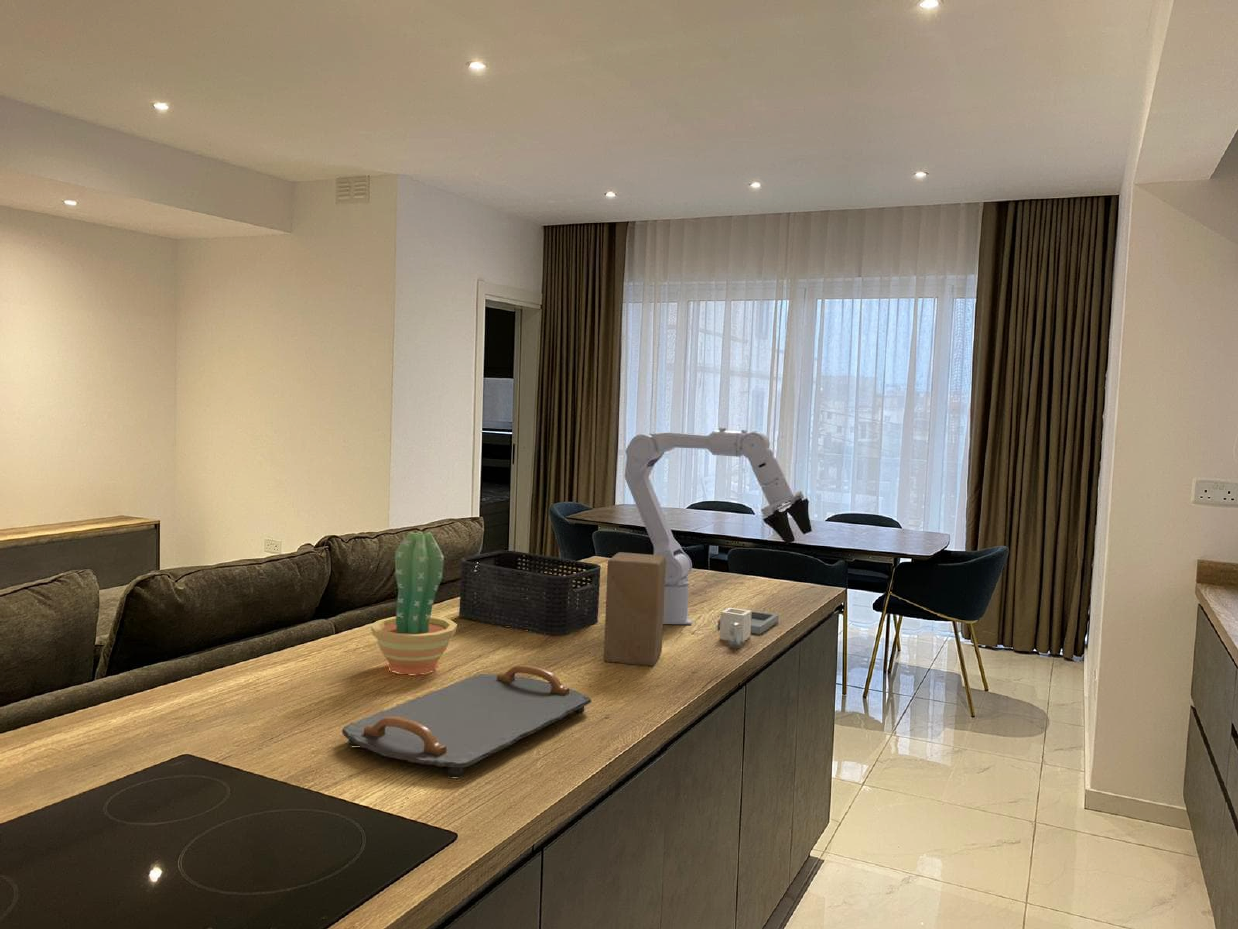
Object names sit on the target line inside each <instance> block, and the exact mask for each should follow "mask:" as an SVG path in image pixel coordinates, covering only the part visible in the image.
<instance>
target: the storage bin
mask: <svg viewBox="0 0 1238 929" xmlns="http://www.w3.org/2000/svg"><path fill="white" fill-rule="evenodd" d="M491 560H493V562H492V565H490V564H484V563H481V562H487V561H491ZM601 569H602V566H601V565H599V564H597V563H591V562H585V561H578V560H573V559H566V558H561V557H555V556H548V555H541V554H535V553H529V552H523V551H518V550H498V551H497V550H496V551H493V552H488V553H482V554H477V555H473V556H466V557H463V558H461V569H460V585H459V586H460V591H459V597H460V598H459V609H458V610H459V612H458V615H459V616H461V617H462V618H466V619H468V620H472V619H475V620H474V621H477V620H479V621H478V622H482V621H483V622H482V623H486V622H487V624H491V623H494V624H493V625H496V624H497V625H496V626H502V627H505V626H509V627H508V628H510V627H513V628H512V629H515V628H517V629H516V630H519V629H521V630H520V631H524V630H528V631H527V632H529V631H531V632H530V633H534V632H535V633H534V634H539V633H542V634H541V635H548V636H563V635H567V634H570V633H572V632H575V631H578V630H581V629H584V628H585V627H588V626H591V625H594V624H596V623H598V622H599V604H600V600H599V599H600V585H601V583H600V581H601V579H600V578H601Z"/></svg>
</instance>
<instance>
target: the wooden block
mask: <svg viewBox="0 0 1238 929" xmlns="http://www.w3.org/2000/svg"><path fill="white" fill-rule="evenodd" d="M665 572H666V557H665V556H662V555H654V554H647V553H636V552H635V553H633V552H622V551H621V552H620V551H619V552H617V553H616V554H614V555H613V556H611V558H609V559H608V560H607V572H606V573H607V574H606V594H605V616H604V638H603V639H604V640H603V642H604V643H603V662H607V663H617V664H625V665H626V664H627V665H635V664H637V666H645V665H646V667H654V665H655V664H656V663H657V660H658V659H659V657H660V656H661V653H662V651H663V635H664V633H663V632H664V631H663V630H664V627H663V626H664V624H663V614H664V593H665Z"/></svg>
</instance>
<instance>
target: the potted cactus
mask: <svg viewBox="0 0 1238 929" xmlns="http://www.w3.org/2000/svg"><path fill="white" fill-rule="evenodd" d="M444 560H445V556H444V553H442V550H441V547H440V546H439V545H438V542H437V541H436V539H435V537H434V536H433V534H432V533H431V532H430V531H428V532H425V533H423V531H419V530H418V531H417V532H413V531H409V532H408V534H406V536H405V537H404V538H403V539H402V541H401V543H400V544H399V545H398V546H397V549H396V551H395V553H394V562H395V564H394V567H395V568H394V570H395V579H396V585H397V589H398V591H397V592H398V593H397V602H396V613H395V616H391V617H387V618H383V619H379V620H376V621H375V622H373V623H372V625H370V628H371V634H372V636H374V637H375V638H376V640H377V643H378V646H379V650H380V651H381V653H382V654H383V656H384V657H385V659H386V660H387V662H388V667H389V668H390V670H391V671H396V672H399V673H401V674H421V673H427V672H430V671H434V670H436V668H437V667H438V668H439V664H438V661H439V660H440V659H441V657H442V656H443V655H444V653H445V652H446V651H447V648H448V646H449V644H450V640H451V639H452V637H453V636H454V635H455V634H456V632H457V626H458V624H457V623H456V622H454V621H453V620H452V619H448V618H444V617H439V616H434V615H433V616H432V615H431V614H432V610H433V607H434V606H433V605H434V602H435V596H436V593H437V591H438V589H439V586H440V584H441V582H442V580H443V572H444V571H443V570H444V563H445V561H444ZM388 667H387V668H388ZM436 671H437V670H436ZM434 672H435V671H434Z"/></svg>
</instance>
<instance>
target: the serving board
mask: <svg viewBox="0 0 1238 929" xmlns="http://www.w3.org/2000/svg"><path fill="white" fill-rule="evenodd" d="M516 674H528V675H533V676H536V677H539V678H542V679H544V680H541V679H536V678H529V677H523V676H518V675H517V676H516ZM545 680H546V681H545ZM591 703H592V699H590V697H589V696H587V695H586V694H583V693H580V692H579V691H576V690H574V689H572V688H569V687H567V686H564V685H563V684H562V683H561V681H560V680H559V678H558V677H557V675H555V674H554V673H553V672H551V671H549V670H548V669H544V668H542V667H538V666H534V665H528V664H521V665H520V664H519V665H515V666H512V667H511V668H509V669H508V670H507V671H506V672H505V673H504V672H500V673H497V674H495V673H483V674H482V673H480V674H475V675H474V676H470V677H468V678H465V679H462V680H461V681H457V682H455V683H453V684H449V685H447V686H445V687H442V688H441V689H437V690H434V691H431V692H428V693H426V694H424V695H421V696H418V697H416V698H414V699H410V700H408V701H405V702H403V703H400V704H398V705H396V706H393V707H391V708H387V709H385V710H382V711H380V712H377V713H374V714H372V715H370V716H367V717H364V718H360V719H358V720H356V721H354V722H351V723H349V724H347V725H346V726H343V728H342V730H341V733H342V734H343V736H344V737H345V738H346V739H347V740H348V741H347V742H348V743H347V745H348V744H349V745H350V746H360V747H359V748H363V749H366V750H368V751H370V752H374V753H376V754H378V755H381V756H384V757H386V758H392V759H396V760H398V761H400V760H401V761H406V762H410V763H415V764H421V765H426V766H427V765H428V766H434V767H438V768H439V767H445V768H447V770H446V771H447V774H446V775H447V777H448V776H449V777H460V776H462V777H463V775H464V768H467V767H470V766H472V765H474V764H476V763H478V762H479V761H481V760H484V759H485V758H487V757H489V756H491V755H492V754H493V755H494V754H496V753H497V752H499V751H501V750H503V749H506V748H507V747H510V746H512V745H514V744H515V743H516V742H519V740H521V739H522V738H526V737H527V736H531V735H533V734H534V733H537V732H539V731H541V729H543V728H545V727H547V726H549V725H551V724H553V723H555V722H557V721H561V720H562V719H563V718H565V717H566V716H568V715H569V714H583V713H584V712H585V706H588V705H590V704H591ZM573 712H574V713H573ZM582 712H583V713H582ZM349 745H348V746H349ZM449 777H448V778H449ZM460 778H461V777H460Z"/></svg>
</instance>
